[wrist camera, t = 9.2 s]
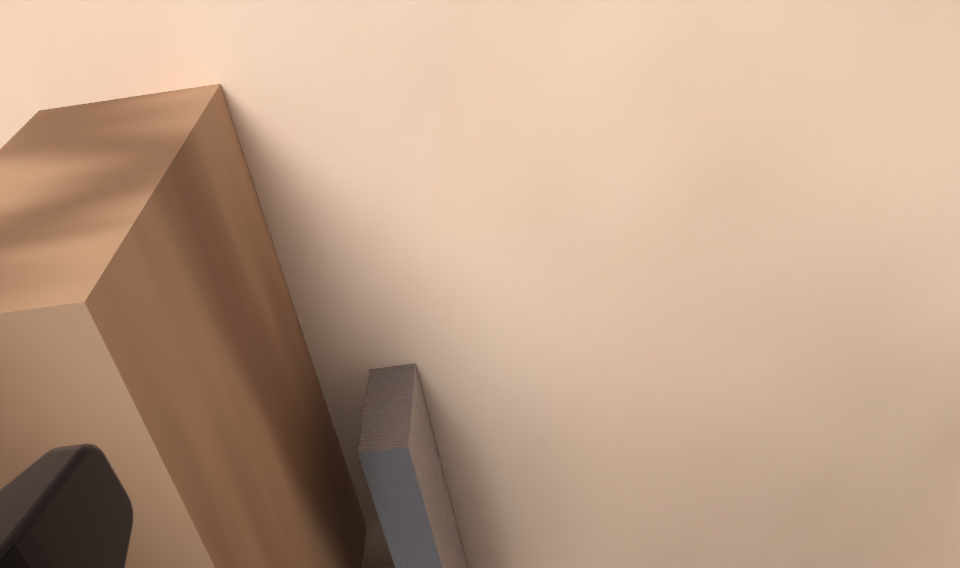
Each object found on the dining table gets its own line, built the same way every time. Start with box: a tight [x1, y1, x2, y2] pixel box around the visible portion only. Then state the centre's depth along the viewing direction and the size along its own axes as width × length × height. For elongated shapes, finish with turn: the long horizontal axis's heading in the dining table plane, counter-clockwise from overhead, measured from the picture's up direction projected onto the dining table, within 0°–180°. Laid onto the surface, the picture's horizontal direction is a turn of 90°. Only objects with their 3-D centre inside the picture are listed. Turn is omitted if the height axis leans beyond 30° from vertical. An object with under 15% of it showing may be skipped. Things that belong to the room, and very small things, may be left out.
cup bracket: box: [357, 364, 468, 568], centre depth 24 cm, size 9×9×3 cm
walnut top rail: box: [0, 84, 366, 568], centre depth 20 cm, size 4×14×8 cm, turn 9°
